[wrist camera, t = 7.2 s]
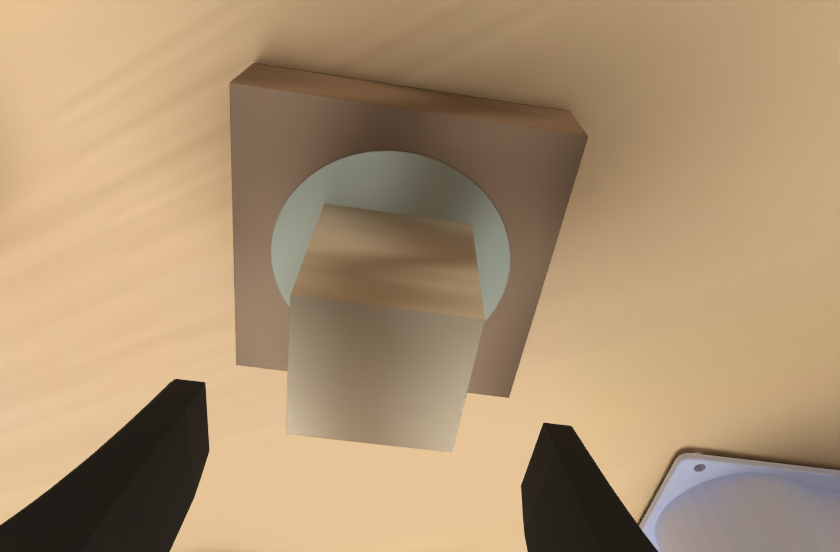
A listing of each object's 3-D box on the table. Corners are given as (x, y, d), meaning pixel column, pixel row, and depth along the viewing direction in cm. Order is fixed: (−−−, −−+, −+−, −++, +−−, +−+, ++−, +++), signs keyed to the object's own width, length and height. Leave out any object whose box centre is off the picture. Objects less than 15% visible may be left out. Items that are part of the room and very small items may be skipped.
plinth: (569, 111, 19) (589, 137, 16) (501, 354, 24) (509, 399, 22) (253, 63, 18) (228, 83, 16) (254, 323, 23) (235, 367, 21)
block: (471, 223, 18) (485, 319, 14) (447, 339, 20) (451, 452, 16) (324, 203, 18) (290, 294, 13) (316, 323, 20) (285, 433, 16)
